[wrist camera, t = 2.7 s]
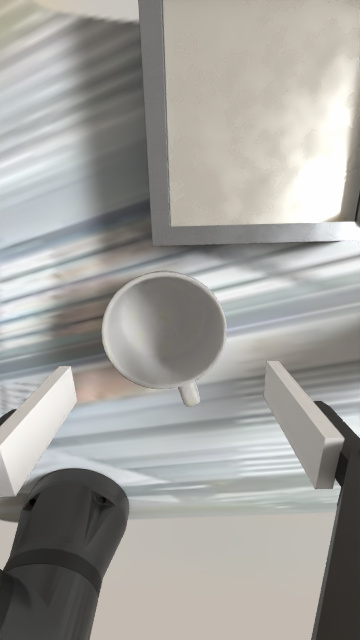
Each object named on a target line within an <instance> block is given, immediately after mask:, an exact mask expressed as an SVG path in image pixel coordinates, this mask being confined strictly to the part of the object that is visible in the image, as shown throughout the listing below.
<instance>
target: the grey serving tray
mask: <svg viewBox="0 0 360 640" xmlns="http://www.w3.org/2000/svg"><path fill="white" fill-rule="evenodd" d="M138 2H139V20H140V37H141V54H142V71H143V89H144V106H145V123H146V140H147V157H148V175H149V192H150V209H151V226H152V243H153V246H174V245H210V244H246V243H282V242H317V241H351V240H360V0H138Z"/></svg>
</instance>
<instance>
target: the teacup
mask: <svg viewBox="0 0 360 640" xmlns="http://www.w3.org/2000/svg"><path fill="white" fill-rule="evenodd" d="M226 328H227V326H226V319H225V314H224V312H223V309H222V307H221V305H220V303H219V301H218V300H217V298H216V297H215V295H214V294H213V293H212V292H211V291H210V290H209V289H208V288H207V287H206V286H205V285H203V284H202V283H201V282H199V281H197V280H196V279H194V278H191V277H189V276H187V275H183V274H181V273H177V272H172V271H156V272H151V273H148V274H145V275H142V276H139V277H137V278H135V279H133V280H131V281H129V282H128V283H126V284H125V285H124V286H122V287H121V288H120V289H119V290H118V291H117V292H116V293H115V295H114V296H113V298H112V299H111V301H110V302H109V304H108V306H107V309H106V311H105V313H104V316H103V321H102V329H101V332H102V342H103V346H104V349H105V352H106V355H107V357H108V358H109V360H110V362H111V363H112V364H113V366H114V367H115V368H116V369H117V371H119V372H120V373H121V374H122V375H123V376H124V377H125V378H127V379H128V380H130V381H132V382H134V383H136V384H138V385H141V386H144V387H148V388H152V389H171V388H177V387H178V388H179V391H180V394H181V397H182V400H183V402H184V404H185V405H186V406H189V407H190V406H194V405H197V404H198V403H199V402H200V396H199V391H198V388H197V384H196V380H198V379H199V378H200V377H202V376H203V375H204V374H206V373H207V372H208V371H209V370H210V369H211V368H212V367H213V366H214V365H215V363H216V362H217V360H218V359H219V357H220V355H221V353H222V351H223V348H224V345H225V341H226Z"/></svg>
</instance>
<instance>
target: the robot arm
mask: <svg viewBox="0 0 360 640" xmlns="http://www.w3.org/2000/svg"><path fill="white" fill-rule="evenodd" d="M263 396H264V398H265V400H266V402H267V404H268V405H269V407H270V409H271V411H272V413H273V414H274V416H275V418H276V420H277V421H278V423H279V425H280V427H281V429H282V430H283V432H284V434H285V436H286V438H287V439H288V441H289V443H290V445H291V447H292V448H293V450H294V452H295V454H296V456H297V457H298V459H299V461H300V463H301V465H302V466H303V468H304V470H305V472H306V474H307V475H308V477H309V479H310V481H311V483H312V484H313V486H314V488H315V489H333V485H334V481H335V479H336V480H337V482H338V483H339V485H340V486H341V491H340V495H339V499H338V503H337V511H336V516H335V521H334V526H333V532H332V537H331V541H330V547H329V552H328V557H327V562H326V567H325V573H324V577H323V582H322V587H321V593H320V598H319V604H318V608H317V613H316V618H315V624H314V628H313V633H312V638H311V640H360V438H359V437H358V436H357V435H356V434H355V433H354V432H353V431H352V430H351V429H350V428H349V426H348V425H347V424H346V423H345V422H343V420H342V419H341V418H340V417H339V416H337V414H336V412H335V411H334V410H333V409H332V408H331V407H330V406H328V405H326V404H325V403H323V402H322V401H312V400H311V398H310V397H309V396H308V395H307V394H306V393H305V391H304V390H303V389H302V388H301V387H300V386H299V384H298V383H297V382H296V381H295V380H294V379H293V377H292V376H291V375H290V374H289V373H288V372H287V370H286V369H285V368H284V367H283V366H282V364H281V363H280V362H279V361H267V363H266V374H265V385H264V395H263ZM76 402H77V397H76V392H75V387H74V381H73V376H72V371H71V366H59V367H58V368H57V369H56V370H55V371H54V372H53V373H52V374H51V375H50V376H49V377H48V378H47V379H46V380H45V381H44V382H43V383H42V384H41V386H40V387H39V388H38V389H37V390H36V391H35V392H34V393H33V394H32V395H31V396H30V397H29V398H28V399H27V400H26V401H25V402H24V403H23V404H22V405H21V406H20V407H19V408H18V409H13V410H11V411H10V412H8V413H6V414H5V415H3V416H2V417H1V418H0V497H11V496H16V495H17V493H18V491H19V490H20V488H21V487H22V485H23V484H24V482H25V481H26V479H27V478H28V476H29V475H30V473H31V471H32V470H33V468H34V467H35V465H36V464H37V462H38V461H39V459H40V458H41V456H42V454H43V453H44V451H45V450H46V448H47V447H48V445H49V444H50V442H51V441H52V439H53V438H54V436H55V434H56V433H57V431H58V430H59V428H60V427H61V425H62V424H63V422H64V421H65V419H66V417H67V416H68V414H69V413H70V411H71V410H72V408H73V407H74V405H75V404H76ZM128 514H129V502H128V499H127V496H126V494H125V493H124V491H123V490H122V488H121V487H120V486H119V485H118V484H117V483H115V482H114V481H113V480H111V479H110V478H108V477H106V476H104V475H102V474H100V473H97V472H94V471H89V470H84V469H66V470H60V471H56V472H53V473H51V474H49V475H47V476H45V477H43V478H42V479H41V480H40V481H39V482H38V483H37V484H36V485H35V486H34V488H33V489H32V491H31V493H30V495H29V496H28V498H27V500H26V501H25V504H24V506H23V509H22V512H21V516H20V520H19V523H18V527H17V531H16V535H15V539H14V543H13V546H12V550H11V554H10V557H9V559H8V561H7V563H6V566H5V567H4V569H3V571H2V570H1V569H0V640H90V635H91V630H92V625H93V621H94V616H95V612H96V607H97V603H98V597H99V593H100V589H101V584H102V580H103V577H104V575H105V573H106V571H107V568H108V566H109V564H110V562H111V560H112V558H113V556H114V554H115V551H116V549H117V547H118V545H119V543H120V541H121V539H122V537H123V535H124V532H125V529H126V526H127V520H128Z"/></svg>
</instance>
